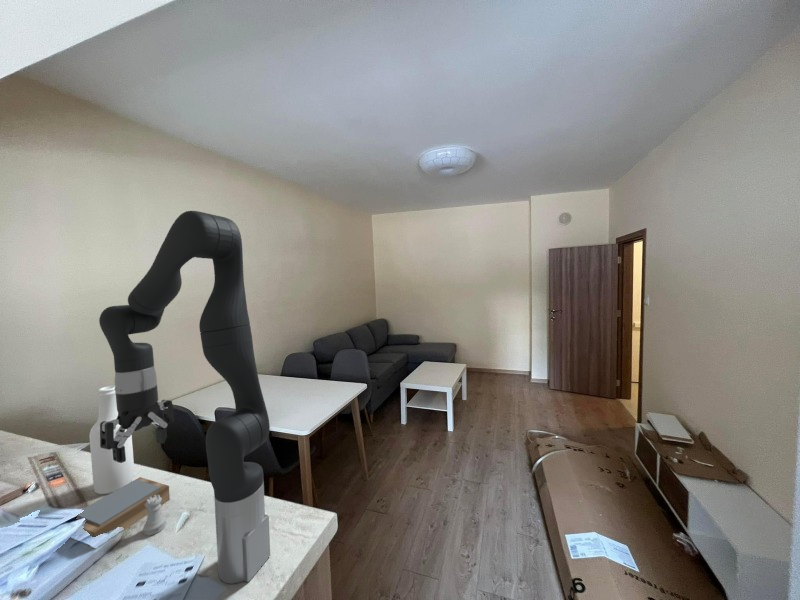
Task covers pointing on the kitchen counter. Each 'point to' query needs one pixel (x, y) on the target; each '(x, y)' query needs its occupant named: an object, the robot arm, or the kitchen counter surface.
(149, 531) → the rook chess piece
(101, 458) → the alcohol
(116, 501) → the slate mat
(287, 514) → the kitchen counter surface
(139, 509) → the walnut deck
